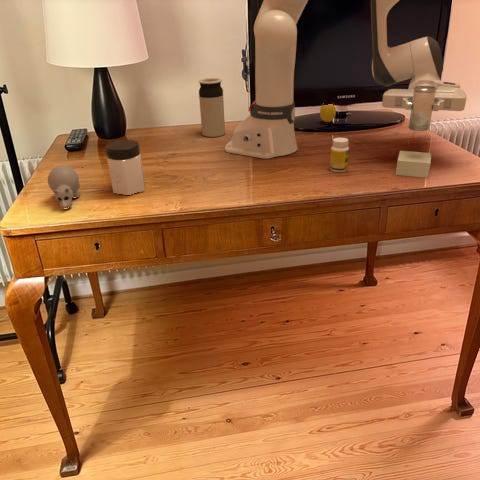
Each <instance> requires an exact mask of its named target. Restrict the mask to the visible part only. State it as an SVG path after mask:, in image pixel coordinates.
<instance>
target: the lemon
mask: <svg viewBox="0 0 480 480" xmlns="http://www.w3.org/2000/svg"><path fill="white" fill-rule="evenodd" d="M333 104H334V103H333ZM333 104H328V105H323V104H322V105H323V106H322V105H321V107H320V109H319V111H320V112H319V116H320V119H321V120H322V121H324V122H325V123H326V122H329V123H330V122H332V121H333V120H334V119H335V118H336V113H337V109H336V105H335V104H334V105H333Z"/></svg>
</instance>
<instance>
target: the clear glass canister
mask: <svg viewBox="0 0 480 480" xmlns="http://www.w3.org/2000/svg"><path fill="white" fill-rule="evenodd" d="M435 92H436V87H432V86H416V87H414V94H413V101H412V108H411V110H410V117H409V123H408V129H409V130H411V131H416V132H427V131H429V130H430V127H431V122H432V115H433V111H432V109H433V104H434V98H435Z"/></svg>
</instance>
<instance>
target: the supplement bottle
mask: <svg viewBox="0 0 480 480" xmlns="http://www.w3.org/2000/svg"><path fill="white" fill-rule="evenodd" d="M349 153H350V147H349V139H348V138H347V137H334V138H333V139H332V145H331V148H330V159H329V160H330V161H329V162H330V163H329V170H330V171H331V172H334V173H345V172H346V171H347V170H348V166H349Z"/></svg>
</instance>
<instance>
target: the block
mask: <svg viewBox="0 0 480 480" xmlns="http://www.w3.org/2000/svg"><path fill="white" fill-rule="evenodd" d="M431 160H432V153H431V152H422V151H411V150H409V151H408V150H399V154H398V157H397V162H396V163H397V164H396V169H395V175H396V176H403V177H413V178H414V177H415V178H424V179H425V178H426V179H428V178H429V173H430V168H431V164H432V162H431Z"/></svg>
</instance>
